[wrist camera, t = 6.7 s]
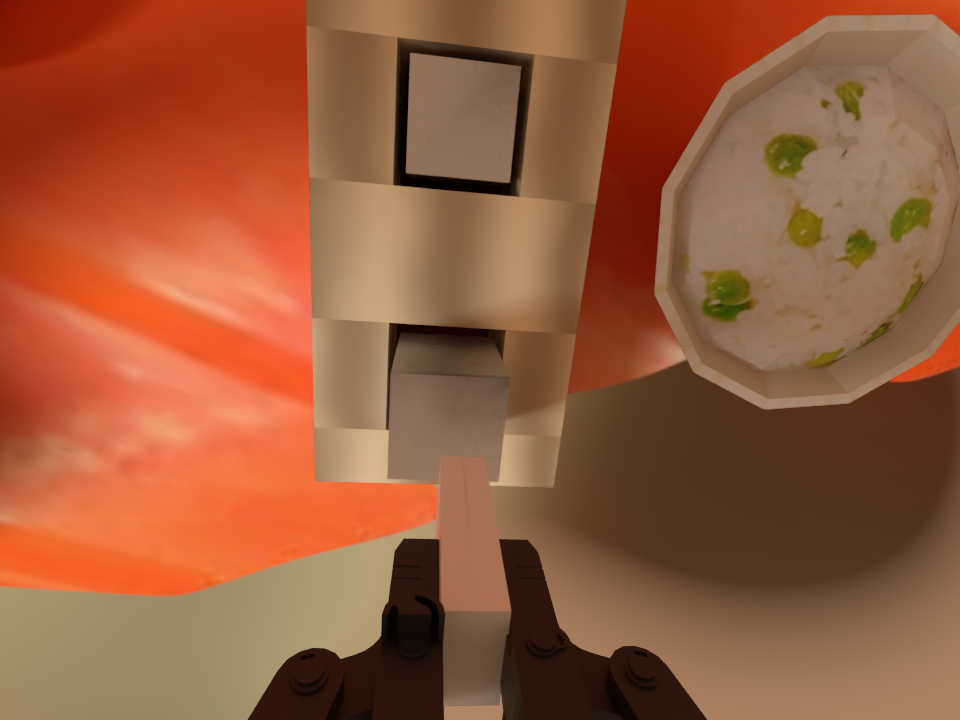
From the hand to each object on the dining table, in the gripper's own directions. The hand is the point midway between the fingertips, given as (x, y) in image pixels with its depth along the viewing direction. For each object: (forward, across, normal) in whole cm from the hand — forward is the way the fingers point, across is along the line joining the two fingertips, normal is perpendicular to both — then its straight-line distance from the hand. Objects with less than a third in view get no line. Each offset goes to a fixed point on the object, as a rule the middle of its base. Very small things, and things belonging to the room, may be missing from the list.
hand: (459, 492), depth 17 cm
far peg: (+17, -1, +13) cm, 21 cm away
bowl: (+18, +18, +10) cm, 28 cm away
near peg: (+11, 0, 0) cm, 11 cm away
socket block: (+18, 0, +6) cm, 19 cm away
